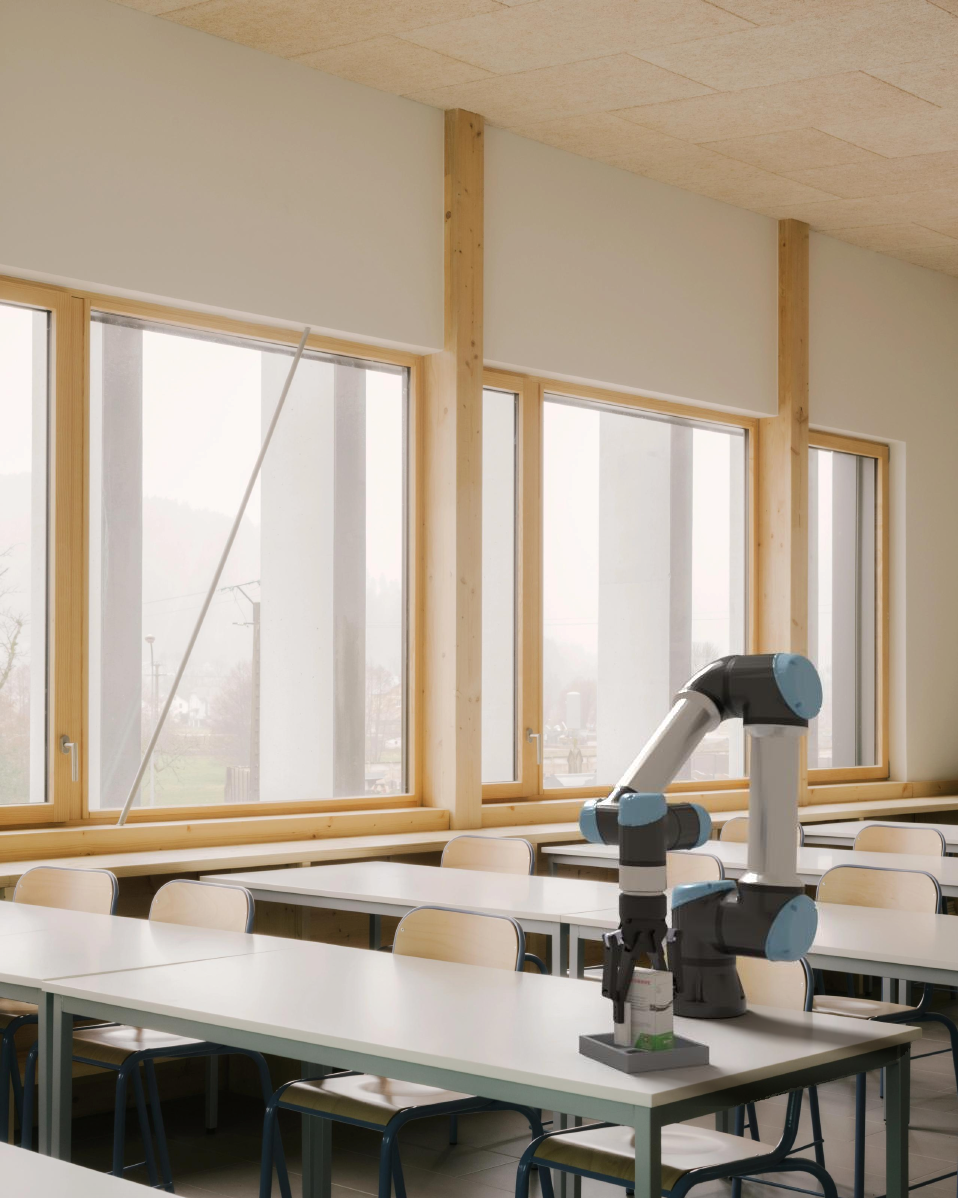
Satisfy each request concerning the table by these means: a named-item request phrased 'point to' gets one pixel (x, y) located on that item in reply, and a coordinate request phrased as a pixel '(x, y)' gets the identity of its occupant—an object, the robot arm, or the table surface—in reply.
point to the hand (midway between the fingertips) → (643, 1042)
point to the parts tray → (643, 1054)
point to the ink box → (650, 1010)
